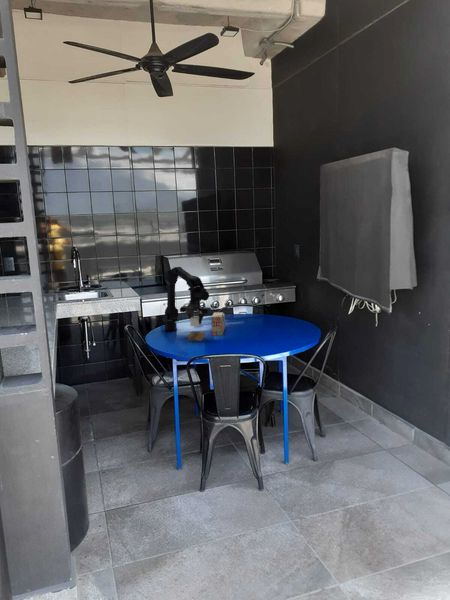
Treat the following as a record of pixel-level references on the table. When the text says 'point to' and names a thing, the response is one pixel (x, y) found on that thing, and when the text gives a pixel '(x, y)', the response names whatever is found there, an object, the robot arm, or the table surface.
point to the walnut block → (196, 335)
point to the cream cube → (195, 321)
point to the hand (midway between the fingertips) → (196, 323)
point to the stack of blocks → (218, 323)
